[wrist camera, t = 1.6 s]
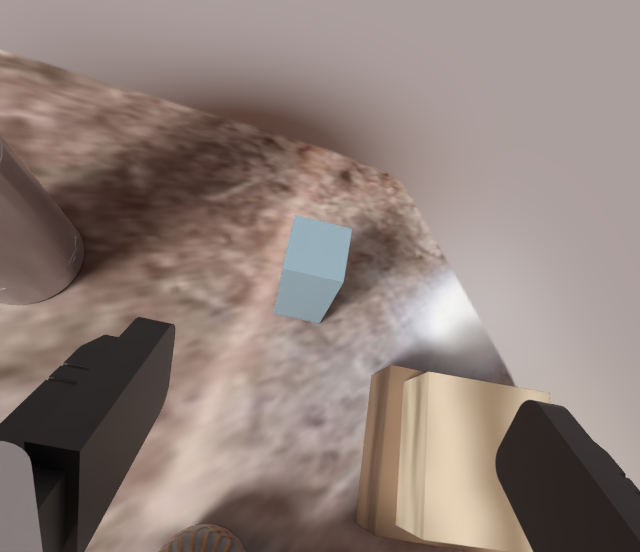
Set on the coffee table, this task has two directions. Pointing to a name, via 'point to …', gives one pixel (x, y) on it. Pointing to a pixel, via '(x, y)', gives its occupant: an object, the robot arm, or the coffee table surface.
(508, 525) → the tower top
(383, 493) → the tower base
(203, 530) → the vase
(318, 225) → the block
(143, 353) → the robot arm
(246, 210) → the coffee table surface
